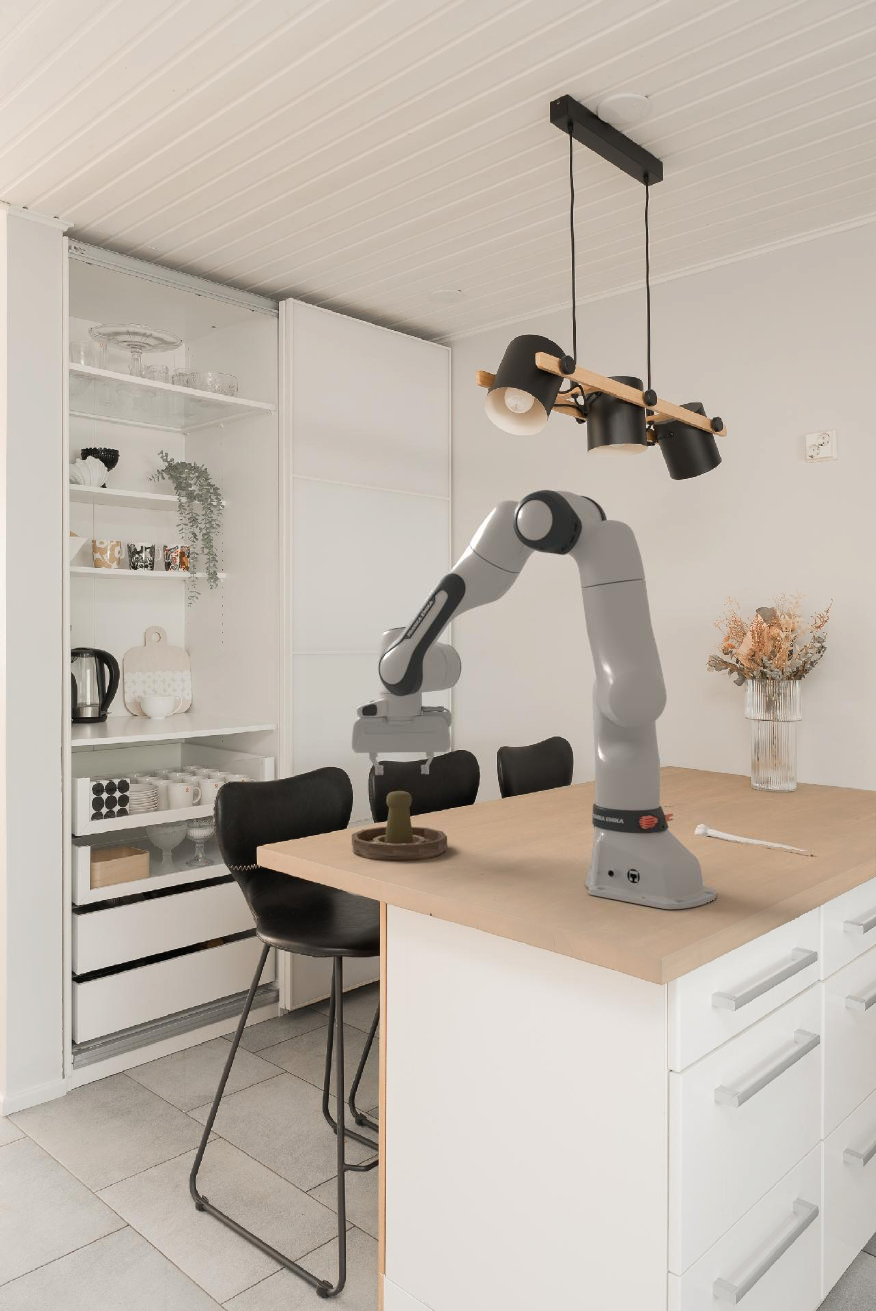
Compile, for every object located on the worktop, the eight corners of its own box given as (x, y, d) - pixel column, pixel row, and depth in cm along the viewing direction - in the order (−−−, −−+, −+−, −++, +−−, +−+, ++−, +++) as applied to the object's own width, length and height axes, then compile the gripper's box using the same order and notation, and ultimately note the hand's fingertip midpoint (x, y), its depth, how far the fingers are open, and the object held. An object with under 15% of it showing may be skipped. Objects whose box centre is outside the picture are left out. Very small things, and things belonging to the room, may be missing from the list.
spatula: (820, 856, 190) (820, 842, 190) (809, 859, 187) (809, 845, 187) (702, 834, 211) (702, 821, 211) (691, 836, 209) (691, 824, 209)
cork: (409, 849, 188) (409, 794, 188) (380, 847, 190) (380, 793, 190) (417, 843, 194) (417, 789, 194) (389, 841, 196) (389, 788, 195)
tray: (464, 851, 191) (464, 836, 191) (390, 865, 179) (390, 849, 179) (406, 836, 205) (406, 823, 205) (334, 848, 193) (334, 834, 193)
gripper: (452, 704, 194) (453, 771, 194) (354, 706, 196) (356, 772, 196) (450, 707, 188) (451, 776, 188) (349, 708, 190) (350, 777, 190)
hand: (402, 774), depth 192 cm, fingers open, 8 cm apart
